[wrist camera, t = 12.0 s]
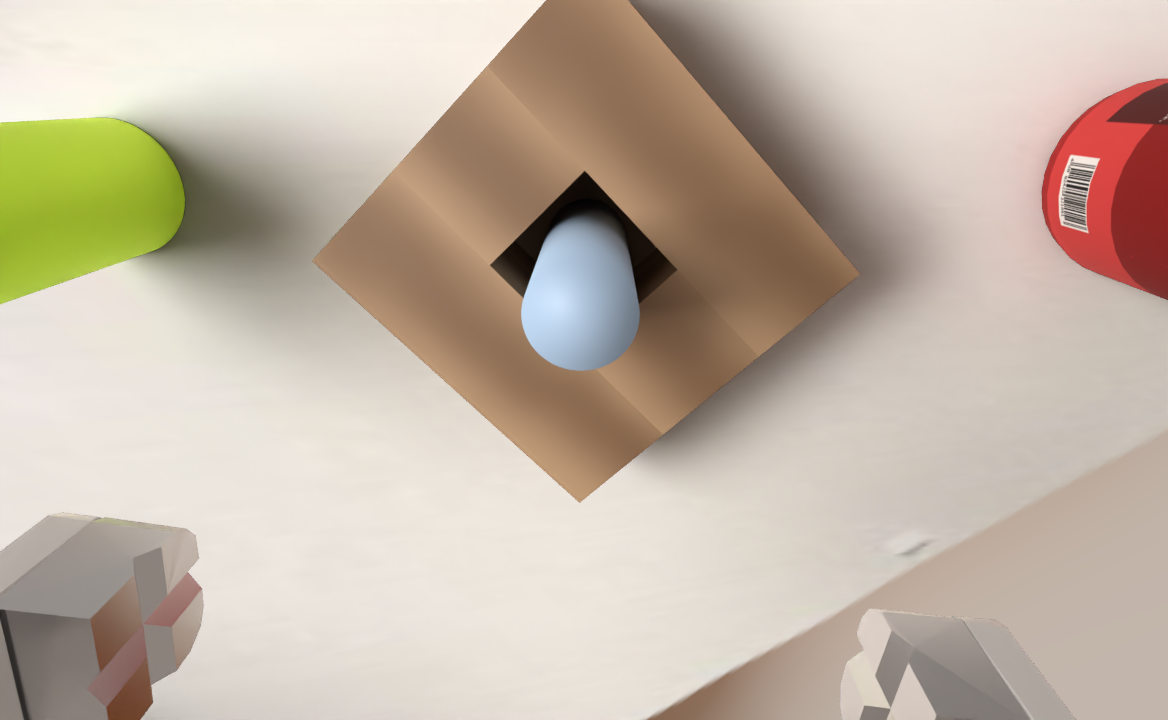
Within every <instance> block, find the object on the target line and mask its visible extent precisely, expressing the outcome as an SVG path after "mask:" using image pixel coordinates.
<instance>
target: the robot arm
mask: <svg viewBox="0 0 1168 720" xmlns="http://www.w3.org/2000/svg"><path fill="white" fill-rule="evenodd" d="M198 559H199V555H198V548H197V542H196V535H194V534H193V533H192V532H190V531H189V530H187V529H185V528H178V527H171V526H164V525H156V524H149V523H142V522H135V521H128V520H120V519H113V518H106V517H105V518H100V517H95V516H87V515H79V514H72V513H64V512H63V513H58V514H54V515H49V516H47V517H45V518H44V519H43V520H41V521H40V522H39V523H37V524H36V525H35V526H33V527H32V528H31V529H29V530H28V531H27V532H25V533H24V534H23V535H22V536H20V537H19V538H18V539H16V540H15V541H14V542H12V543H11V544H10V545H8V546H7V547H6V548H4V549H3V550H2V551H0V720H140V719H141V718H142V717H143V715H144V714H145V713H146V711H147V710H148V709H149V707H150V706H151V705H152V703H153V697H152V687H151V685H152V684H153V683H155V682H157V681H159V680H161V679H162V678H164V677H166V676H168V675H169V674H171V673H173V672H175V671H177V669H178V668H179V666H180V665H181V664H182V662H183V661H184V659H185V658H186V657H187V655H188V654H189V652H190V651H191V649H192V646H193V644H194V641H195V639H196V636H197V634H198V631H199V629H200V626H201V621H202V613H203V606H204V605H203V593H202V588H201V587H200V586H199V585H198V583H197V582H196V581H195V580H194V579H193V578H192V576H191V575H190V574H189V573H188V571H189V570H190V568H191V567H192V566H193V565H194V564H195V563H196V561H197V560H198ZM856 634H857V637H858V639H859V641H860V643H861V646H862V648H863V650H862V651H861V652H860V653H859V654H857V655H856V656H855V657H853V658H852V659H850V660H849V661H848V662H847V663H846V666H845V670H844V673H843V677H842V680H841V684H840V710H841V715H842V720H1076V719H1075V718H1074V716H1073V715H1072V714H1071V712H1070V711H1069V710H1068V708H1067V707H1066V706H1065V704H1064V703H1063V702H1062V701H1061V699H1060V698H1059V696H1058V695H1057V694H1056V692H1055V691H1054V690H1053V689H1052V687H1051V686H1050V684H1049V683H1048V682H1047V680H1046V679H1045V678H1044V676H1043V675H1042V674H1041V672H1040V671H1039V670H1038V669H1037V667H1036V666H1035V665H1034V663H1033V662H1032V661H1031V659H1030V658H1029V657H1028V655H1027V654H1026V653H1025V651H1024V650H1023V649H1022V647H1021V646H1020V645H1019V643H1018V642H1017V641H1016V639H1015V638H1014V637H1013V636H1012V634H1011V633H1010V631H1009V630H1008V629H1007V628H1006V627H1005V626H1004V625H1002V624H1000V623H999V622H997V621H996V620H992V619H981V618H969V617H959V616H952V617H946V616H937V615H928V614H919V613H910V612H900V611H891V610H882V609H873V608H870V609H869V610H868V611H867V612H866V613H865V614H864V616H863V617H862V619H861V622H860V624H859V627H858V630H857V633H856Z"/></svg>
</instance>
